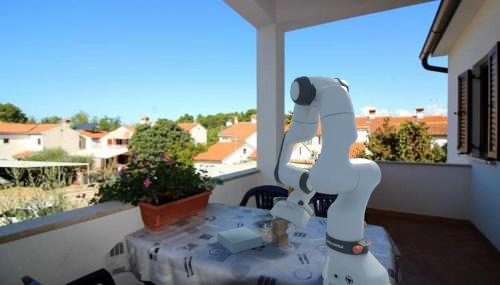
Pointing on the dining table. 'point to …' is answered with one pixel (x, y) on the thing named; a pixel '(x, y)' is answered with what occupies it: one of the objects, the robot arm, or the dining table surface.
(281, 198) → the embossed ceramic cup
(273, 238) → the walnut block
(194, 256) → the dining table surface
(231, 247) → the slate base
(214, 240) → the dining table surface
